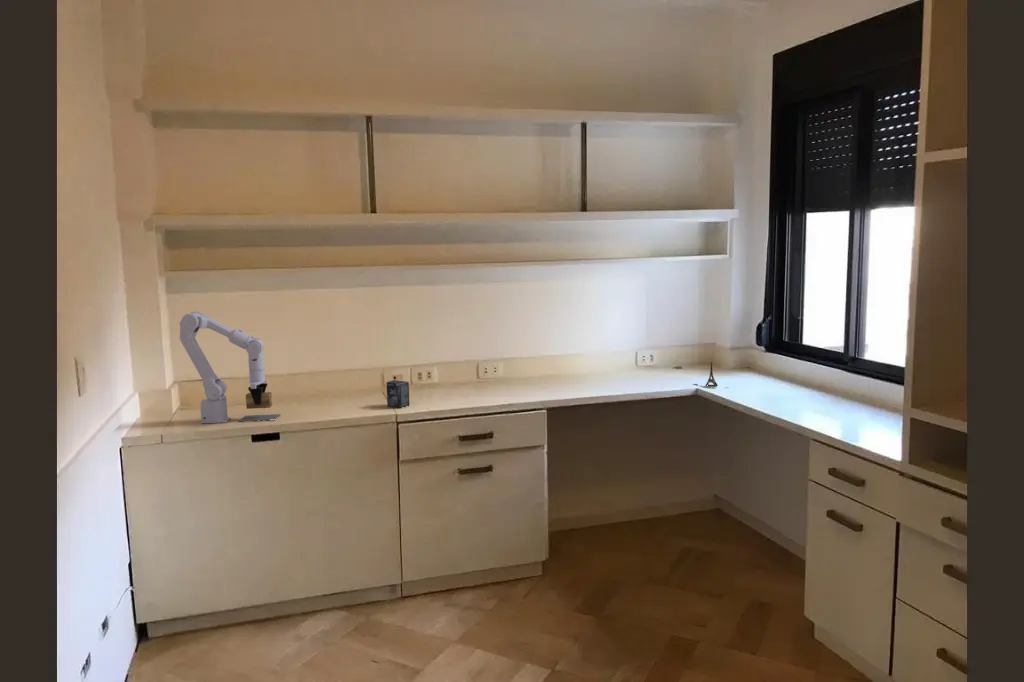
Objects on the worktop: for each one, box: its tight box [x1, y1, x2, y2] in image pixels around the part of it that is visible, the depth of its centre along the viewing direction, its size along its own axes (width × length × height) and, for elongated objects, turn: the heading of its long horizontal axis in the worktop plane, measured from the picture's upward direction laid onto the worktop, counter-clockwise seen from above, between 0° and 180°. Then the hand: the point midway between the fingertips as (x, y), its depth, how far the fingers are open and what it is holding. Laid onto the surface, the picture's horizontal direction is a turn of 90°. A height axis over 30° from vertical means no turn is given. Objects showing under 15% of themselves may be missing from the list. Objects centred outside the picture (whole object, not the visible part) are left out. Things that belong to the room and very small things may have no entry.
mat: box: [238, 413, 281, 423], centre depth 304 cm, size 14×9×1 cm, turn 94°
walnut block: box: [245, 391, 273, 409], centre depth 303 cm, size 4×9×6 cm, turn 94°
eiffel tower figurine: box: [693, 358, 730, 390], centre depth 348 cm, size 15×10×13 cm
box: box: [386, 379, 411, 409], centre depth 320 cm, size 8×6×11 cm
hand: (259, 403), depth 303 cm, fingers closed on walnut block, 4 cm apart
